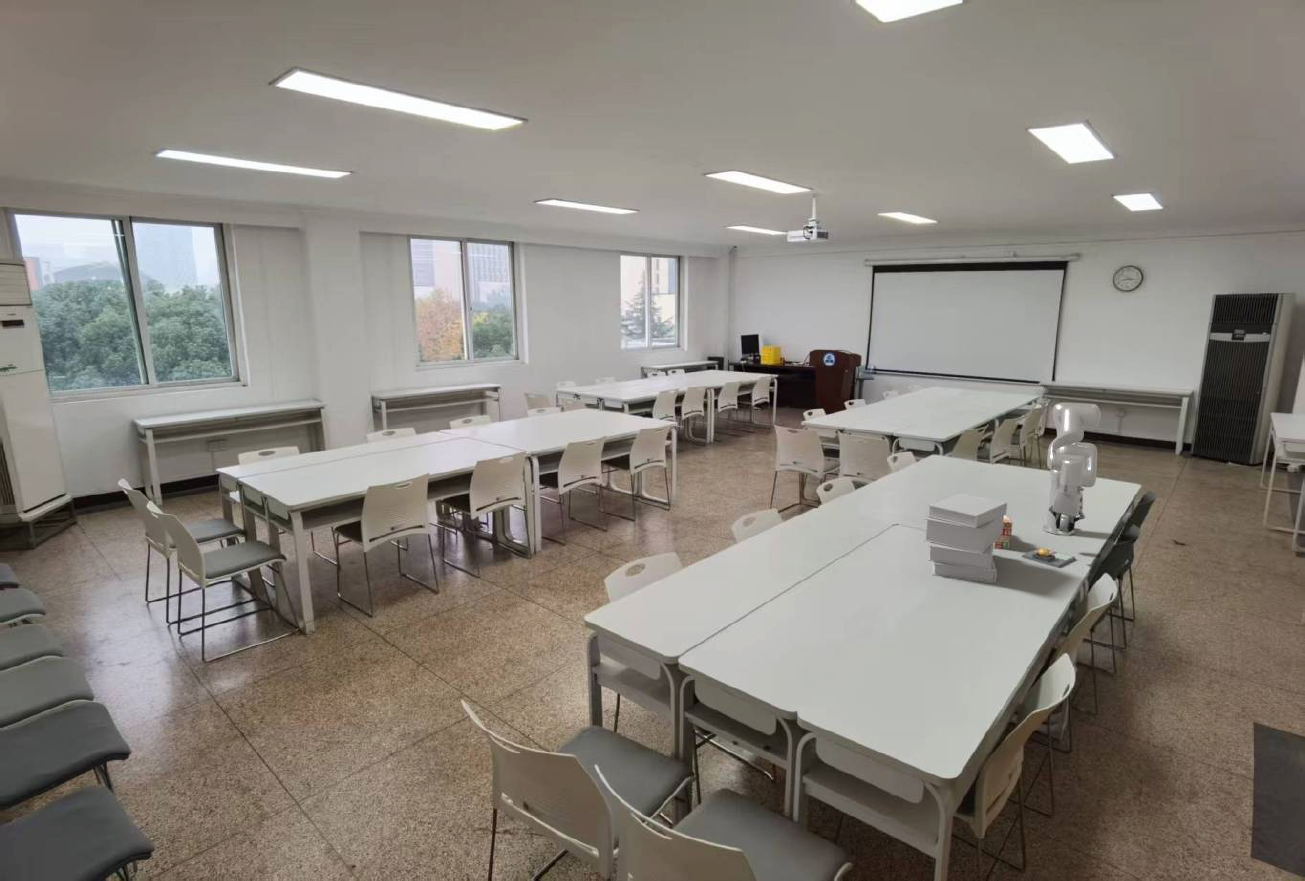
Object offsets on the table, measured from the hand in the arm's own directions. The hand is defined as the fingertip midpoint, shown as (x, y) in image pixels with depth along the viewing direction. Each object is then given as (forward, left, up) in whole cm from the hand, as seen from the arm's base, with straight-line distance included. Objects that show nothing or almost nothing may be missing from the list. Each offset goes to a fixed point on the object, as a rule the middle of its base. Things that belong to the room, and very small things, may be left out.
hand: (1064, 529), depth 276 cm
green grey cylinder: (0, 0, -2) cm, 2 cm away
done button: (+18, 0, -7) cm, 19 cm away
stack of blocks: (+9, -24, -10) cm, 28 cm away
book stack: (+48, -18, -10) cm, 52 cm away
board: (+13, 0, -10) cm, 17 cm away
